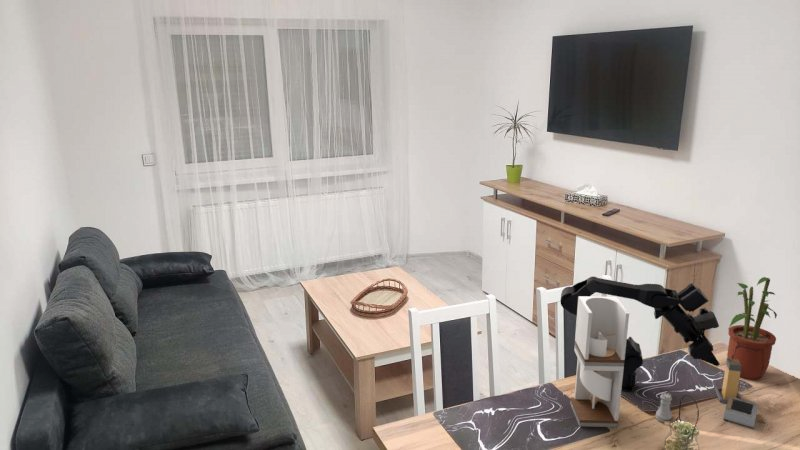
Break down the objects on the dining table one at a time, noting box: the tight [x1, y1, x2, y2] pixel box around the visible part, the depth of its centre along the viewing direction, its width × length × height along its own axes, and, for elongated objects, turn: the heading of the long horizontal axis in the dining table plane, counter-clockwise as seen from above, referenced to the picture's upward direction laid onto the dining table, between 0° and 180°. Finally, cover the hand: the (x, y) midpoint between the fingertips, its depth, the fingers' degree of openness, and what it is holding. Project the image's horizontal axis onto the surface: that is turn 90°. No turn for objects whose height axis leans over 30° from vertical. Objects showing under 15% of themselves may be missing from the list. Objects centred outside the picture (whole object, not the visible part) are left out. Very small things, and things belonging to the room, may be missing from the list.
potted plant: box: [726, 276, 778, 380], centre depth 184 cm, size 17×16×35 cm
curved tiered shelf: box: [569, 295, 630, 428], centre depth 162 cm, size 11×11×35 cm
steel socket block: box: [723, 396, 760, 430], centre depth 163 cm, size 7×8×4 cm
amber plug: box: [721, 357, 742, 399], centre depth 172 cm, size 3×4×12 cm
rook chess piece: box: [654, 391, 673, 424], centre depth 164 cm, size 4×4×8 cm
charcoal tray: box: [714, 386, 742, 404], centre depth 173 cm, size 6×7×2 cm
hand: (715, 357), depth 171 cm, fingers open, 9 cm apart
